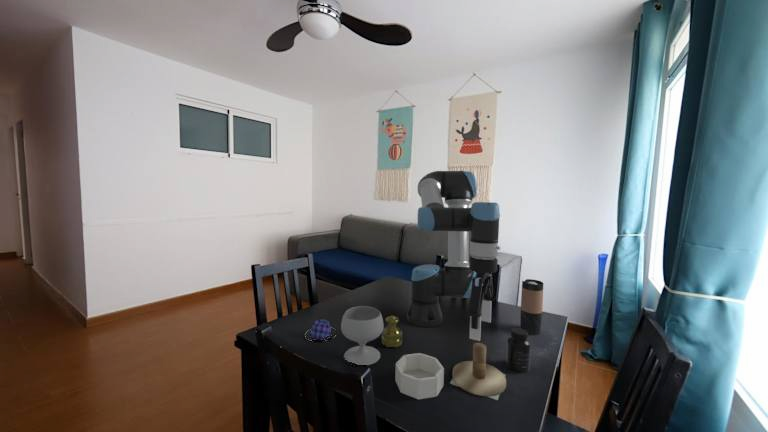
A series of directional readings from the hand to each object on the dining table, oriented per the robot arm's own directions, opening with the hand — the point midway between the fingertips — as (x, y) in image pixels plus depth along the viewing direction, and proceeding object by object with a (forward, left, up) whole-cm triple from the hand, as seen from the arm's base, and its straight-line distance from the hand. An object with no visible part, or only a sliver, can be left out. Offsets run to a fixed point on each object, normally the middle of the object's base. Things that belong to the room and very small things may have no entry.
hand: (480, 329), depth 85 cm
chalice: (-36, -8, -16) cm, 40 cm away
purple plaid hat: (-58, -4, -16) cm, 60 cm away
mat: (0, 0, -15) cm, 15 cm away
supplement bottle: (+9, +13, -16) cm, 22 cm away
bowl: (-14, -11, -15) cm, 23 cm away
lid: (0, 0, -15) cm, 15 cm away
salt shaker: (-32, +5, -16) cm, 36 cm away
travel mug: (+10, +43, -16) cm, 47 cm away
